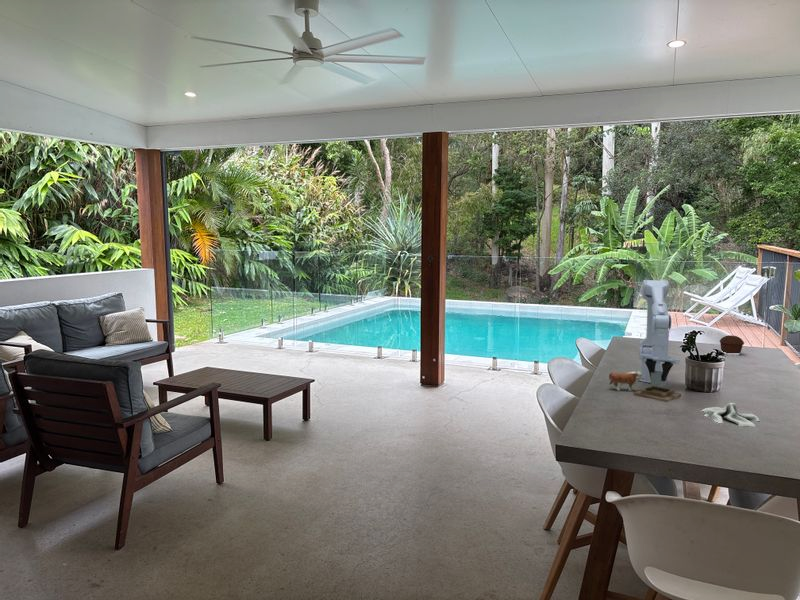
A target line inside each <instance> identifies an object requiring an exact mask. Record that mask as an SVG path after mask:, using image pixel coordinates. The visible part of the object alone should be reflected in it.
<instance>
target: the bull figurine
mask: <svg viewBox="0 0 800 600" xmlns="http://www.w3.org/2000/svg"><path fill="white" fill-rule="evenodd" d="M608 378H609V380H610V382H609V385H610V389H611V390H614V389H616V391H619V392H621V389H620V388H619V386H618V385H619V384H620V386H623V385H626V384H627V385H628V388H627V389H628V390H627V391H629V392H632V391H634V388H633V386H634V385H635V384H636V383H637V382H639V381H638V380H641V379H644V377H643V375H642V373H641V370H638V371H637V372H636V371H631V372H610V373H609V375H608Z"/></svg>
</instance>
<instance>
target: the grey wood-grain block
mask: <svg viewBox="0 0 800 600" xmlns="http://www.w3.org/2000/svg"><path fill="white" fill-rule="evenodd" d="M662 375H663V370H662V371H654V372H651V382H650V383H649V386H656V387H662V388H663V387H664V386H666V384H667V380H666V381H662Z"/></svg>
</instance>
